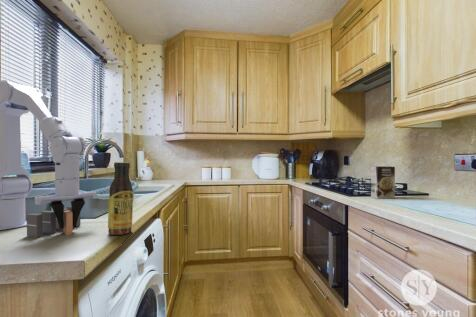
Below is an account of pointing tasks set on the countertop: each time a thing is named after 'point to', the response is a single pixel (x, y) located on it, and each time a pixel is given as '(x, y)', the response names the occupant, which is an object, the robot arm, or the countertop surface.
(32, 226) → the domino
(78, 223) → the domino
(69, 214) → the domino
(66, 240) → the countertop surface
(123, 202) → the sauce bottle
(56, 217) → the domino
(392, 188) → the coffee box
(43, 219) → the domino
